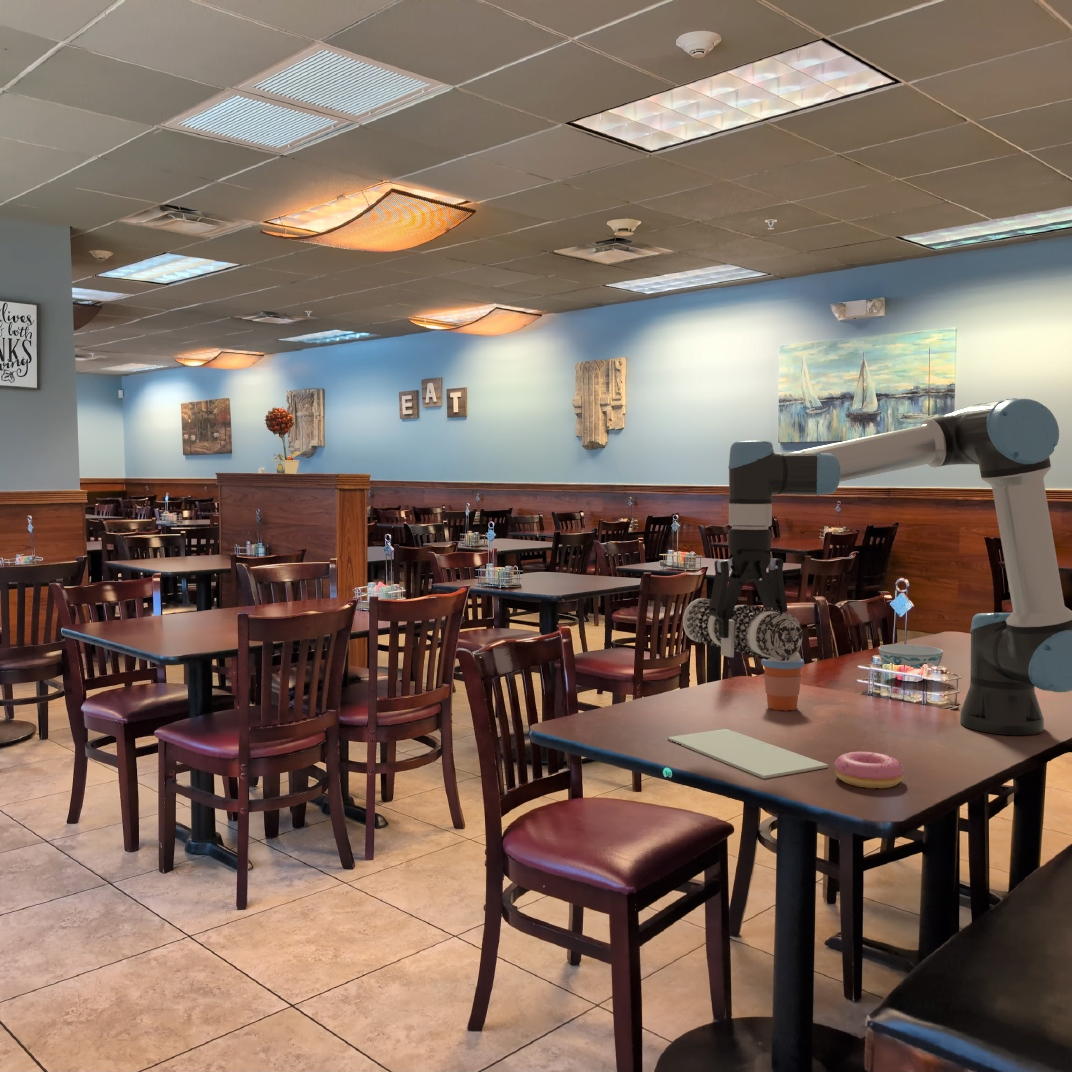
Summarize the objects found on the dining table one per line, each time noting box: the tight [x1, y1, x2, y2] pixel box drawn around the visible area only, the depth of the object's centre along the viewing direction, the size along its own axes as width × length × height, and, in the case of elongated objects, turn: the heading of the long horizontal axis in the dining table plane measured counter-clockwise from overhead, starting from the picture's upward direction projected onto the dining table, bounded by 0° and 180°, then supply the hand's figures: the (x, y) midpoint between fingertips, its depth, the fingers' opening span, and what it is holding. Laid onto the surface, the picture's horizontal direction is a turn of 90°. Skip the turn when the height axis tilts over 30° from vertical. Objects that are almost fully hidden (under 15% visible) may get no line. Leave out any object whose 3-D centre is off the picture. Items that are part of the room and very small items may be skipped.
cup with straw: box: [760, 651, 805, 712], centre depth 212 cm, size 9×9×18 cm
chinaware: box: [878, 643, 944, 668], centre depth 242 cm, size 15×15×8 cm
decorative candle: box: [682, 598, 803, 661], centre depth 175 cm, size 9×9×25 cm
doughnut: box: [833, 750, 905, 789], centre depth 160 cm, size 11×11×4 cm
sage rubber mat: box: [667, 728, 829, 779], centre depth 176 cm, size 28×14×1 cm, turn 27°
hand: (747, 653), depth 174 cm, fingers closed on decorative candle, 8 cm apart
